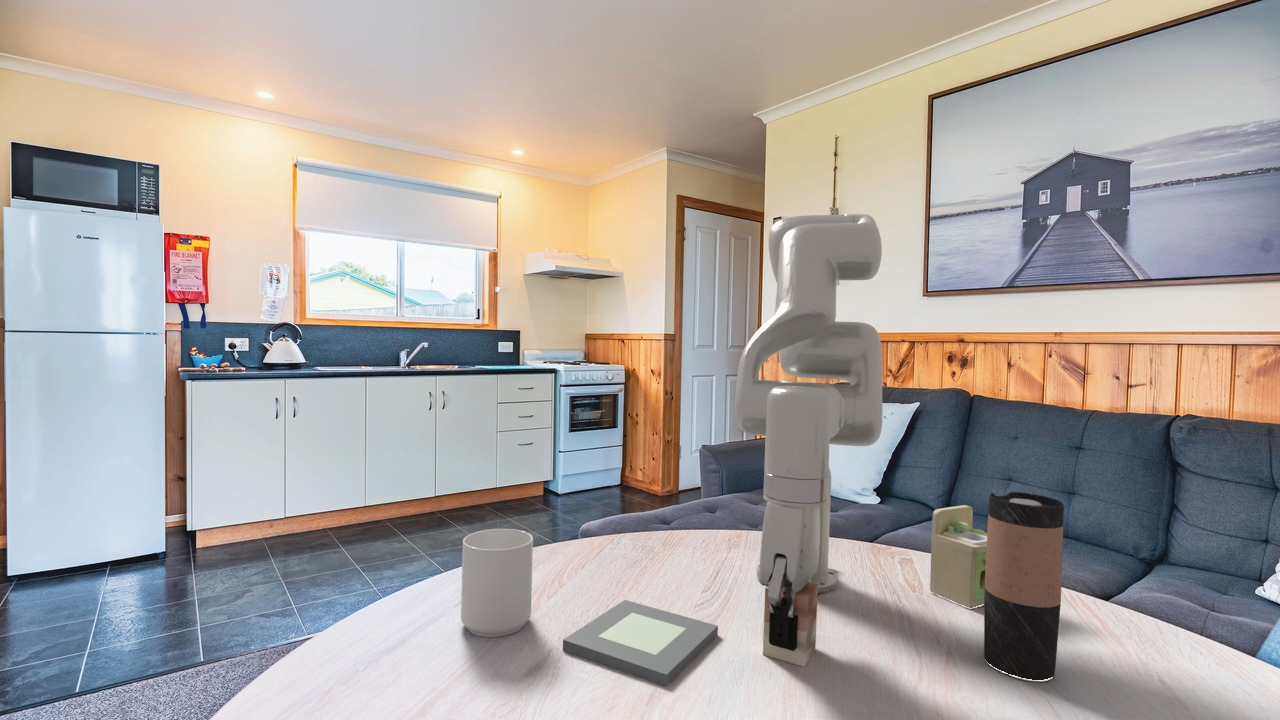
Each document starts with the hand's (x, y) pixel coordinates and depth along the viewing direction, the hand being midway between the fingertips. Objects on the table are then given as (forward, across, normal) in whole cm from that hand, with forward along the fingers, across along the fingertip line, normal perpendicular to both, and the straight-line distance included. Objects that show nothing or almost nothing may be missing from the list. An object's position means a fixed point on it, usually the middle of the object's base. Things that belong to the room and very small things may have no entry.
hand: (789, 635), depth 74 cm
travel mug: (+2, -12, +24) cm, 27 cm away
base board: (+2, +8, -16) cm, 18 cm away
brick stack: (+2, 0, 0) cm, 2 cm away
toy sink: (+2, -32, +18) cm, 37 cm away
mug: (+2, +13, -35) cm, 37 cm away
